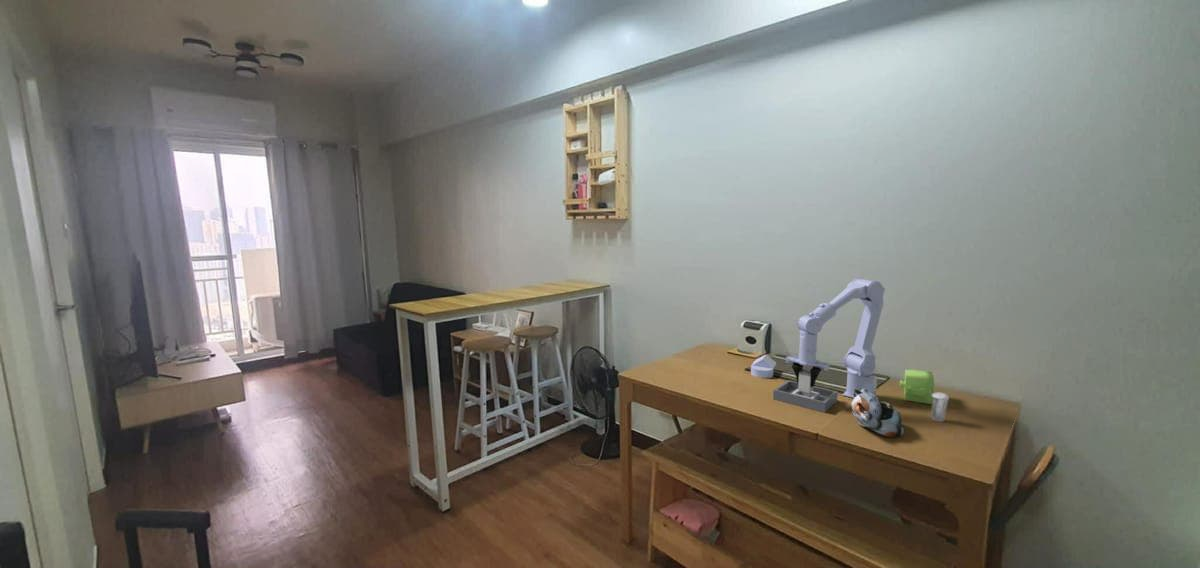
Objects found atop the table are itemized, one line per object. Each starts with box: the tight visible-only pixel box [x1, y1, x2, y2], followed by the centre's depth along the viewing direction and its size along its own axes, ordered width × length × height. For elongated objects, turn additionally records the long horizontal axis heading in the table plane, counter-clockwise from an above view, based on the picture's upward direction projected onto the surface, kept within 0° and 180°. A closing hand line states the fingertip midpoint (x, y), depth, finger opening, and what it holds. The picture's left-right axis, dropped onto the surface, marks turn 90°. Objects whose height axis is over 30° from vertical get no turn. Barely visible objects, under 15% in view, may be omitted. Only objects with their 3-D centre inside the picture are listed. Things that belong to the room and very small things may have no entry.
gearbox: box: [899, 369, 935, 405], centre depth 170 cm, size 18×10×10 cm, turn 148°
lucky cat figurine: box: [850, 389, 905, 439], centre depth 145 cm, size 15×12×14 cm
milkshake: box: [929, 389, 950, 423], centre depth 151 cm, size 4×5×10 cm
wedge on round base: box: [750, 354, 777, 379], centre depth 197 cm, size 9×7×13 cm
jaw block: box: [798, 369, 813, 393], centre depth 168 cm, size 4×4×7 cm
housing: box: [772, 379, 839, 414], centre depth 168 cm, size 18×14×4 cm
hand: (805, 384), depth 168 cm, fingers closed on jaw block, 4 cm apart
